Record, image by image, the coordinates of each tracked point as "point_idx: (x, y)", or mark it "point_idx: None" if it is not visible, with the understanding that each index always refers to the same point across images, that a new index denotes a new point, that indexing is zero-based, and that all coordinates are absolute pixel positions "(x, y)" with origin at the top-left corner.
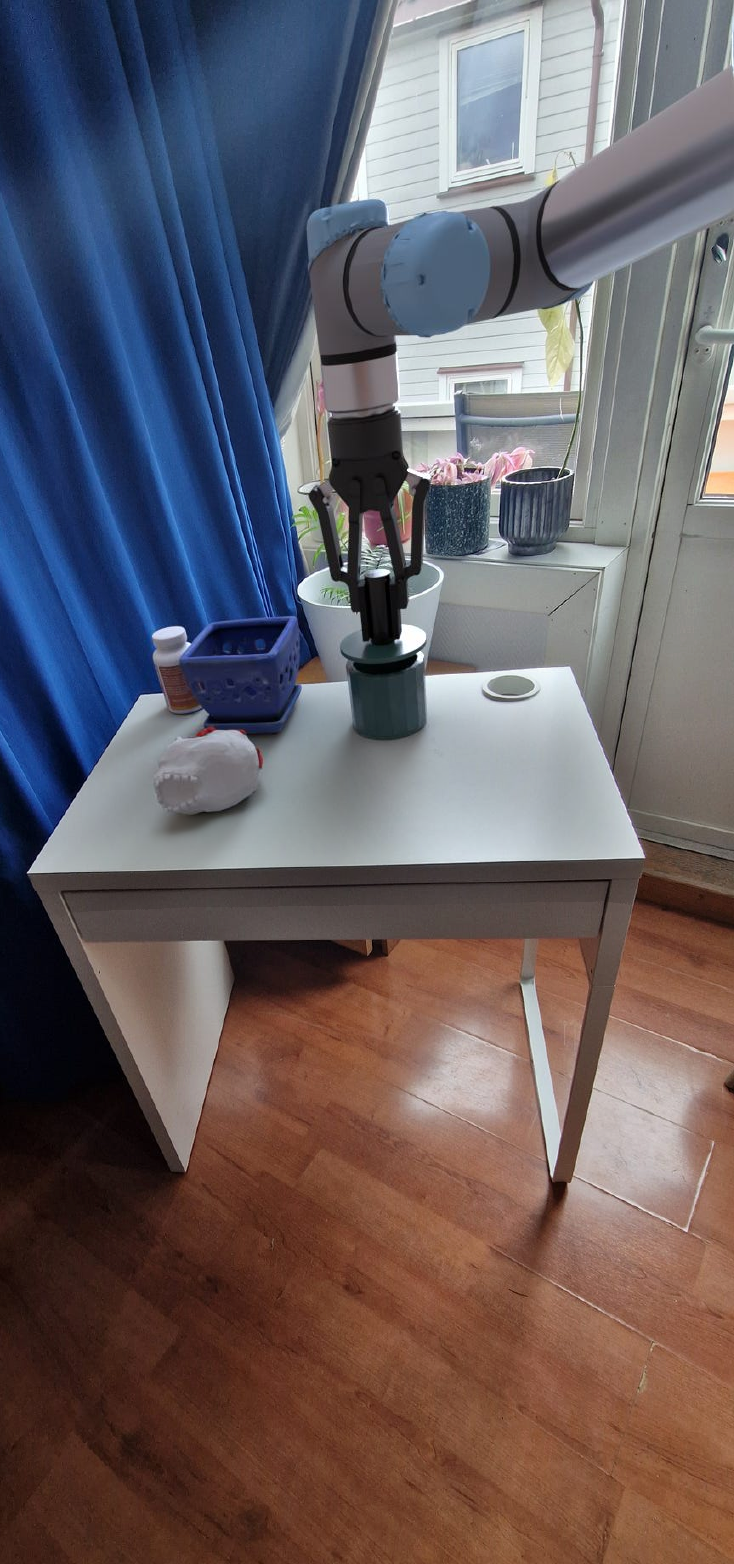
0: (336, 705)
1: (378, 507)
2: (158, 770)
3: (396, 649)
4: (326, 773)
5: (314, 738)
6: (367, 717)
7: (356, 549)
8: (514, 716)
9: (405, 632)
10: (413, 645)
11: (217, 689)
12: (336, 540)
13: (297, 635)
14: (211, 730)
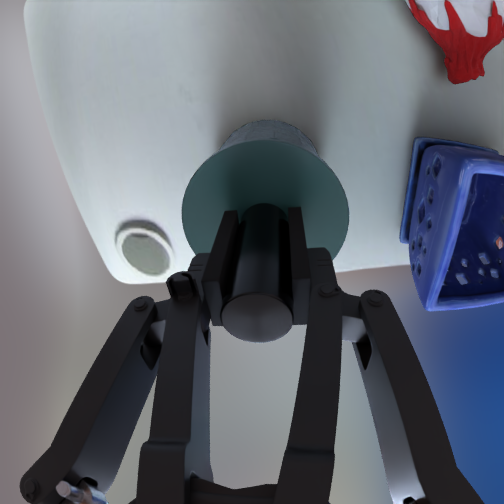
0: (350, 214)
1: (183, 491)
2: None
3: (226, 183)
4: (328, 38)
5: (367, 128)
6: (289, 129)
7: (308, 366)
8: (121, 188)
9: None
10: (197, 199)
11: (496, 209)
12: (380, 400)
13: (421, 280)
14: (489, 17)
